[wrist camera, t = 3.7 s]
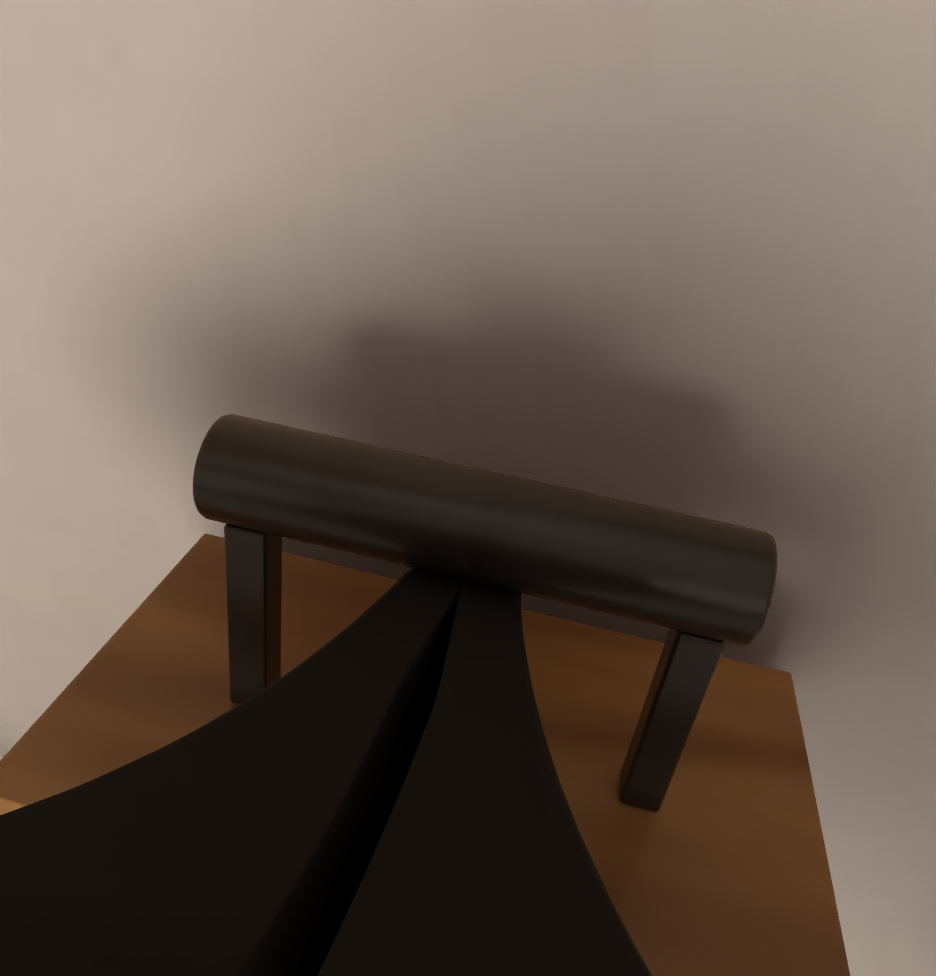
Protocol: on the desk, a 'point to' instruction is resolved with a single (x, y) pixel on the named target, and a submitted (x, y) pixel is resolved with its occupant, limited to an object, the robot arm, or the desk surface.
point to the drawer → (552, 665)
